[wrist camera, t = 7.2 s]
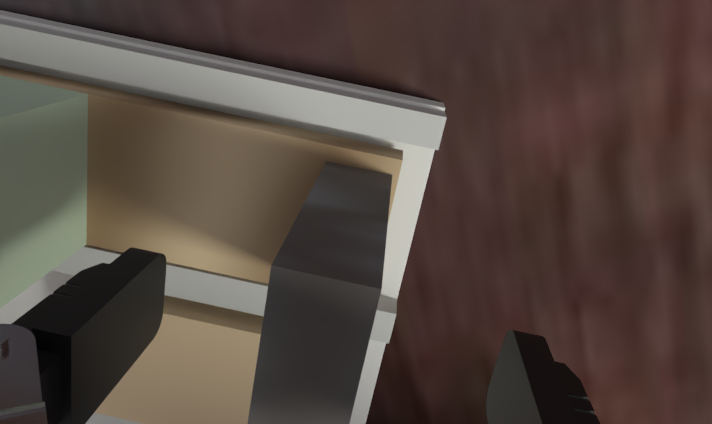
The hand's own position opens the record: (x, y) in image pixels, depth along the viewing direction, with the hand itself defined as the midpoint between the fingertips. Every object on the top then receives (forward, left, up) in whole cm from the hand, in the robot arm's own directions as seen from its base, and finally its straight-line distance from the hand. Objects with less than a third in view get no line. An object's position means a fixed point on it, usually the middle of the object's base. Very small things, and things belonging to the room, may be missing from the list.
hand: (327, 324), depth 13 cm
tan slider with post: (+7, 0, -6) cm, 9 cm away
